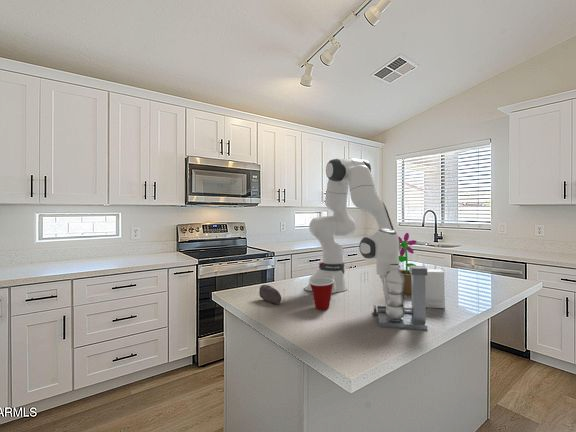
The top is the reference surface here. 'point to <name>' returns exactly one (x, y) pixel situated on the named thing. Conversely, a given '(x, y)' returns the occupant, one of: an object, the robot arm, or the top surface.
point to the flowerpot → (401, 259)
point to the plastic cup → (322, 292)
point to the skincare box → (434, 289)
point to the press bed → (418, 304)
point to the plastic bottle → (395, 292)
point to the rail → (383, 310)
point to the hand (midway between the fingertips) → (388, 304)
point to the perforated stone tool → (270, 294)
